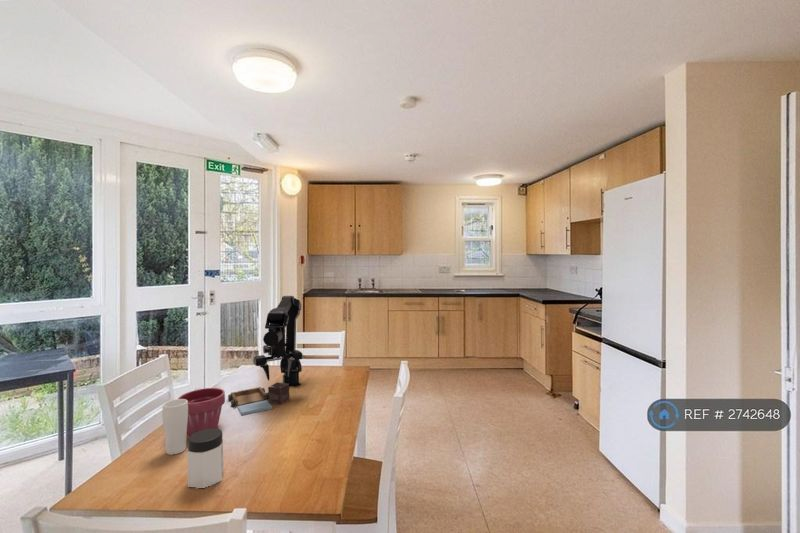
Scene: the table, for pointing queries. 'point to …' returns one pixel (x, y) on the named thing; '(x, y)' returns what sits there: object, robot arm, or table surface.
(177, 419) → the drinking glass
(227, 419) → the table surface
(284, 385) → the box
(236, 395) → the bed
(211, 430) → the jar
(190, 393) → the plant pot
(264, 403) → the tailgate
